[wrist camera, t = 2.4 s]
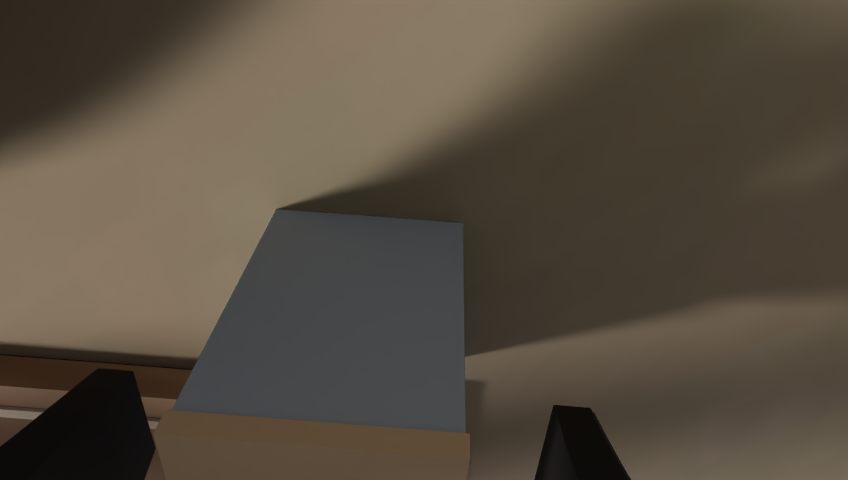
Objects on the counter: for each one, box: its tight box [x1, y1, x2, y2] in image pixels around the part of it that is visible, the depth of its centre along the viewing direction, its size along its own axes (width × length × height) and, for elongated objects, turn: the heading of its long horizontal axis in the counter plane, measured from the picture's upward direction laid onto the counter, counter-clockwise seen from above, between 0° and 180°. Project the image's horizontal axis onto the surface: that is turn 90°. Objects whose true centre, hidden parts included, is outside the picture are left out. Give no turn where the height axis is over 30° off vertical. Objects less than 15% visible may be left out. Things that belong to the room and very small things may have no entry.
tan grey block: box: [153, 209, 470, 480], centre depth 11 cm, size 4×4×6 cm
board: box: [0, 355, 192, 480], centre depth 16 cm, size 4×14×1 cm, turn 87°
